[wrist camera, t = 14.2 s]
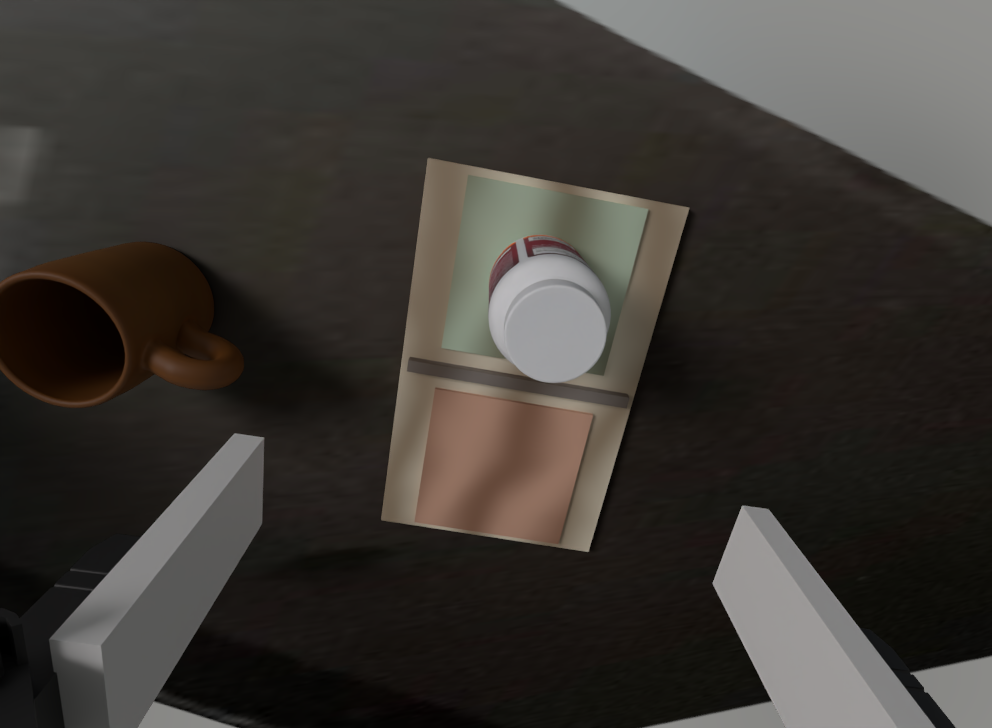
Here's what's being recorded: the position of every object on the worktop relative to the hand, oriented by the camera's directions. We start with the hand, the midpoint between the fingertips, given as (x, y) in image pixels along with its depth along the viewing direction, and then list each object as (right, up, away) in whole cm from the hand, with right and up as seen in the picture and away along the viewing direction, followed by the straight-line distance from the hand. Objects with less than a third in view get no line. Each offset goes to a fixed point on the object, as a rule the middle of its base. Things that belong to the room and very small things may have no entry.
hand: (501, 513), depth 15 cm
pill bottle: (+3, +9, +20) cm, 23 cm away
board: (+1, +3, +23) cm, 24 cm away
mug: (-20, +8, +22) cm, 31 cm away
